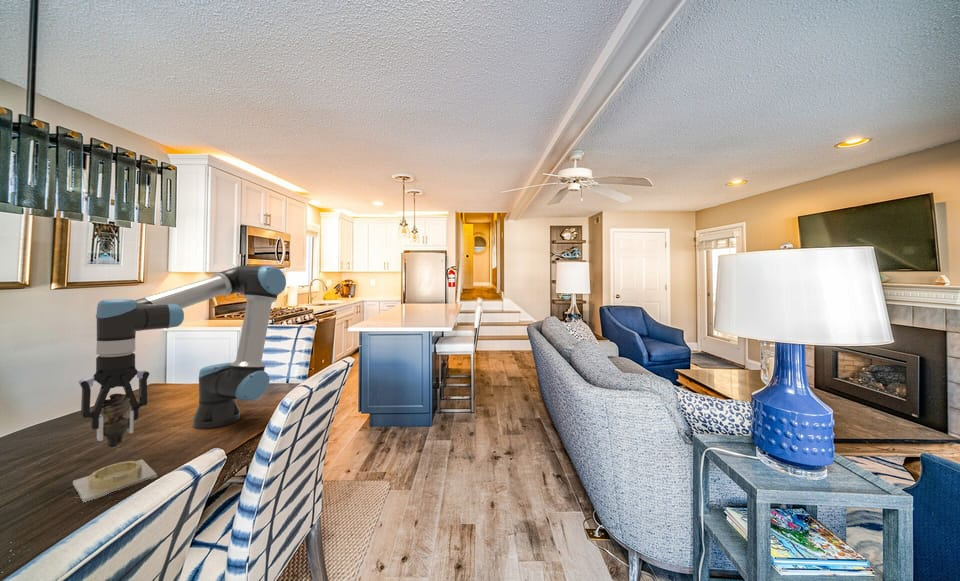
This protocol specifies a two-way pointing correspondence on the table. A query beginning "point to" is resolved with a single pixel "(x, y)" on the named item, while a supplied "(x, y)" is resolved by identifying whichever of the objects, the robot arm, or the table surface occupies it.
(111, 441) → the dark brown lumpy column
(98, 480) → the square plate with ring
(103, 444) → the table surface
